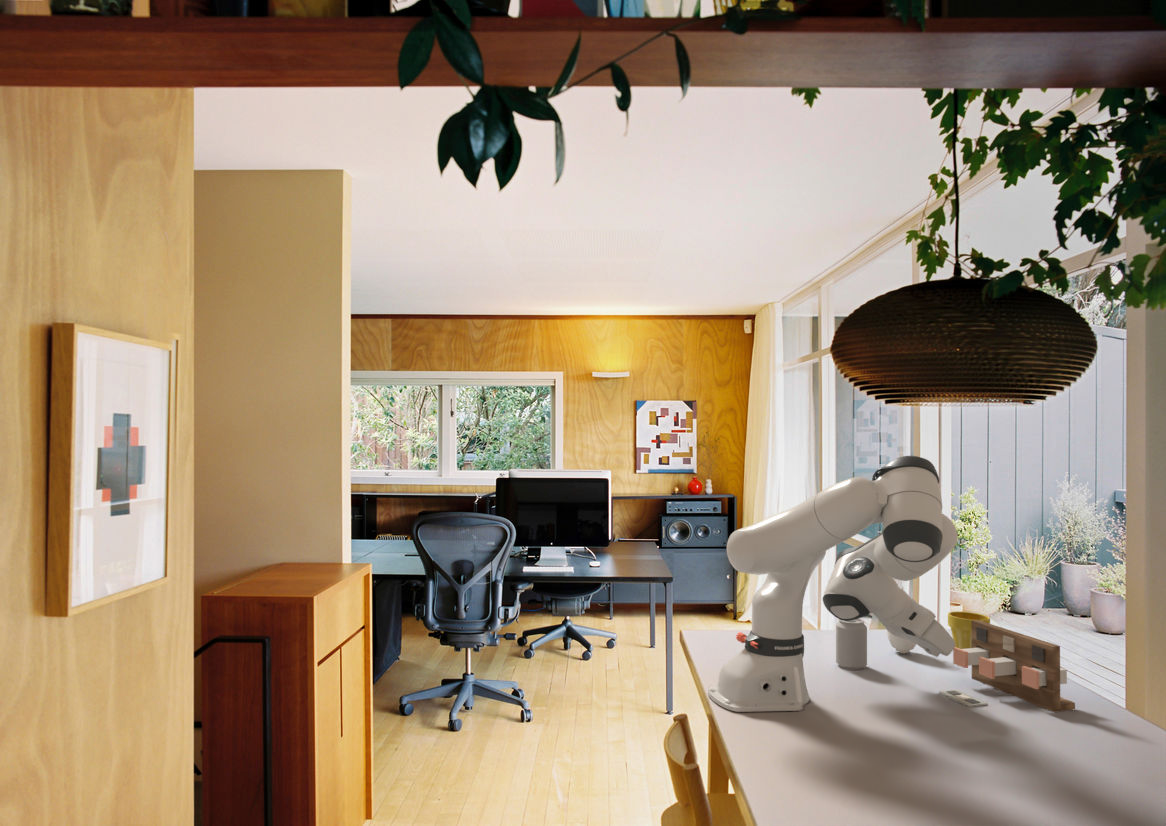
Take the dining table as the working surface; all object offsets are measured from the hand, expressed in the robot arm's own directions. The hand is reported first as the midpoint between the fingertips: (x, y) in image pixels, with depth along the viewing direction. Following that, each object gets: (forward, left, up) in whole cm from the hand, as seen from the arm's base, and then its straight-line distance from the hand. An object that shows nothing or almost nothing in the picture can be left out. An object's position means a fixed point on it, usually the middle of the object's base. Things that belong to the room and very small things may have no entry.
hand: (934, 653), depth 178 cm
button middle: (+12, -7, -4) cm, 14 cm away
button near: (+16, -15, -4) cm, 22 cm away
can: (-9, +20, -9) cm, 23 cm away
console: (+17, -7, -8) cm, 20 cm away
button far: (+12, +1, -4) cm, 13 cm away
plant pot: (+31, +24, -9) cm, 40 cm away
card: (+1, -7, -8) cm, 11 cm away
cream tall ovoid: (+12, +27, -9) cm, 31 cm away
